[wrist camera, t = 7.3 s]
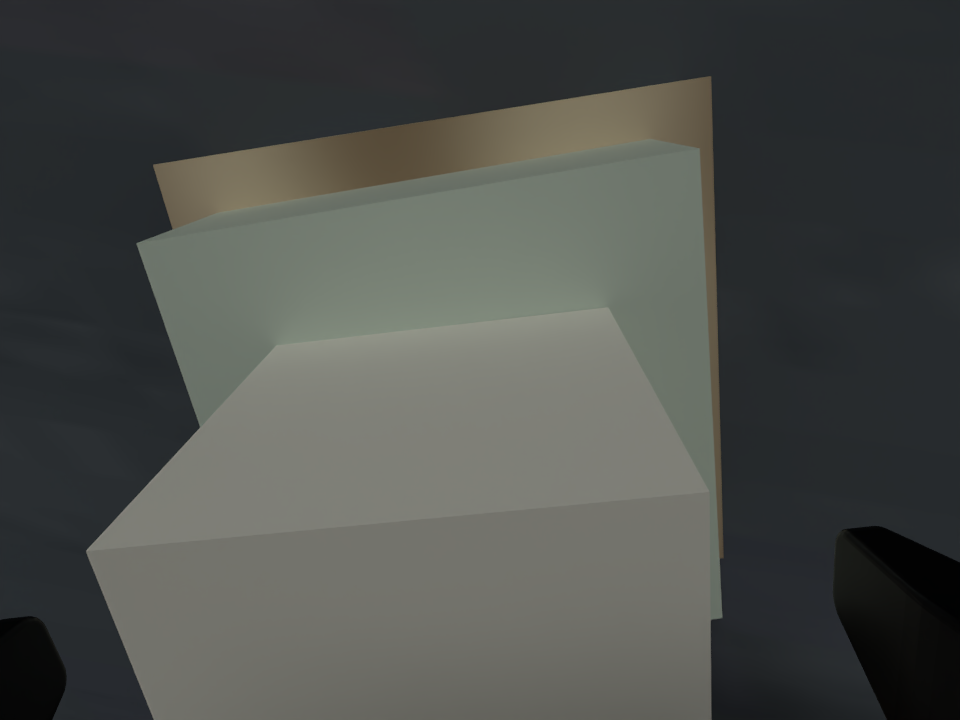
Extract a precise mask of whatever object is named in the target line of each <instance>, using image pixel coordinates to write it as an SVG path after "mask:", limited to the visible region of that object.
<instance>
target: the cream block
mask: <svg viewBox="0 0 960 720" xmlns="http://www.w3.org/2000/svg"><path fill="white" fill-rule="evenodd" d="M86 553H87V555H88V558H89V560H90V563H91V565H92V568H93V570H94V573H95V575H96V578H97V580H98V583H99V585H100V588H101V590H102V592H103V595H104V597H105V600H106V602H107V605H108V607H109V610H110V612H111V615H112V617H113V620H114V622H115V625H116V627H117V630H118V632H119V635H120V637H121V639H122V642H123V644H124V647H125V649H126V652H127V654H128V657H129V659H130V662H131V664H132V667H133V669H134V672H135V674H136V677H137V679H138V682H139V684H140V687H141V689H142V691H143V694H144V696H145V699H146V701H147V704H148V706H149V709H150V711H151V714H152V716H153V719H154V720H711V606H710V492H709V490H708V488H707V486H706V484H705V483H704V481H703V479H702V477H701V475H700V473H699V472H698V470H697V468H696V466H695V464H694V463H693V461H692V459H691V457H690V455H689V453H688V452H687V450H686V448H685V446H684V444H683V443H682V441H681V439H680V437H679V435H678V433H677V432H676V430H675V428H674V426H673V424H672V422H671V421H670V419H669V417H668V415H667V413H666V412H665V410H664V408H663V406H662V404H661V402H660V401H659V399H658V397H657V395H656V393H655V392H654V390H653V388H652V386H651V384H650V382H649V381H648V379H647V377H646V375H645V373H644V372H643V370H642V368H641V366H640V364H639V362H638V361H637V359H636V357H635V355H634V353H633V351H632V350H631V348H630V346H629V344H628V342H627V341H626V339H625V337H624V335H623V333H622V331H621V330H620V328H619V326H618V324H617V322H616V321H615V319H614V317H613V315H612V313H611V311H610V310H609V308H608V307H605V308H596V309H588V310H579V311H570V312H561V313H553V314H544V315H535V316H527V317H518V318H509V319H501V320H492V321H483V322H474V323H466V324H457V325H448V326H440V327H431V328H422V329H414V330H405V331H396V332H388V333H379V334H371V335H362V336H353V337H345V338H336V339H328V340H319V341H311V342H302V343H293V344H285V345H276V346H275V347H274V349H273V350H272V351H271V352H270V353H269V354H268V355H267V356H266V357H265V358H264V359H263V360H262V361H261V363H260V364H259V365H258V366H257V367H256V368H255V369H254V370H253V371H252V372H251V373H250V374H249V376H248V377H247V378H246V379H245V380H244V381H243V382H242V383H241V384H240V385H239V386H238V387H237V388H236V390H235V391H234V392H233V393H232V394H231V395H230V396H229V397H228V398H227V399H226V400H225V401H224V403H223V404H222V405H221V406H220V407H219V408H218V409H217V410H216V411H215V412H214V413H213V414H212V415H211V417H210V418H209V419H208V420H207V421H206V422H205V423H204V424H203V425H202V426H201V427H200V428H199V430H198V431H197V432H196V433H195V434H194V435H193V436H192V437H191V438H190V439H189V440H188V441H187V442H186V444H185V445H184V446H183V447H182V448H181V449H180V450H179V451H178V452H177V453H176V454H175V455H174V457H173V458H172V459H171V460H170V461H169V462H168V463H167V464H166V465H165V466H164V467H163V468H162V470H161V471H160V472H159V473H158V474H157V475H156V476H155V477H154V478H153V479H152V480H151V481H150V482H149V484H148V485H147V486H146V487H145V488H144V489H143V490H142V491H141V492H140V493H139V494H138V495H137V497H136V498H135V499H134V500H133V501H132V502H131V503H130V504H129V505H128V506H127V507H126V508H125V509H124V511H123V512H122V513H121V514H120V515H119V516H118V517H117V518H116V519H115V520H114V521H113V522H112V524H111V525H110V526H109V527H108V528H107V529H106V530H105V531H104V532H103V533H102V534H101V535H100V536H99V538H98V539H97V540H96V541H95V542H94V543H93V544H92V545H91V546H90V547H89V548H88V549H87V551H86Z"/></svg>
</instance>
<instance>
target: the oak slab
mask: <svg viewBox="0 0 960 720" xmlns="http://www.w3.org/2000/svg"><path fill="white" fill-rule="evenodd" d="M646 139H654V140H659V141H665V142H670V143H675V144H680V145H685V146H690V147H695V148H700V166H701V187H702V207H703V228H704V249H705V270H706V290H707V311H708V332H709V353H710V373H711V394H712V415H713V436H714V456H715V477H716V498H717V519H718V539H719V558H723V523H722V484H721V445H720V406H719V367H718V328H717V289H716V250H715V211H714V172H713V134H712V95H711V76H710V77H703V78H697V79H690V80H684V81H677V82H671V83H665V84H658V85H652V86H646V87H639V88H633V89H627V90H621V91H614V92H608V93H602V94H595V95H589V96H583V97H577V98H570V99H564V100H558V101H551V102H545V103H539V104H532V105H526V106H520V107H514V108H507V109H501V110H495V111H488V112H482V113H476V114H469V115H463V116H457V117H451V118H444V119H438V120H432V121H425V122H419V123H413V124H406V125H400V126H394V127H388V128H381V129H375V130H369V131H362V132H356V133H350V134H344V135H337V136H331V137H325V138H318V139H312V140H306V141H299V142H293V143H287V144H281V145H274V146H268V147H262V148H255V149H249V150H243V151H236V152H230V153H224V154H218V155H211V156H205V157H199V158H193V159H186V160H180V161H174V162H168V163H162V164H156V165H153V167H154V170H155V173H156V176H157V179H158V183H159V186H160V189H161V192H162V196H163V199H164V202H165V205H166V209H167V212H168V215H169V218H170V222H171V225H172V228H173V229H176V228H178V227H181V226H184V225H186V224H189V223H192V222H194V221H197V220H200V219H202V218H205V217H208V216H210V215H213V214H215V213H219V212H225V211H231V210H236V209H242V208H248V207H254V206H260V205H266V204H272V203H277V202H283V201H289V200H295V199H301V198H307V197H313V196H318V195H324V194H330V193H336V192H342V191H348V190H354V189H359V188H365V187H371V186H377V185H383V184H389V183H395V182H400V181H406V180H412V179H418V178H424V177H430V176H436V175H441V174H447V173H453V172H459V171H465V170H471V169H477V168H482V167H488V166H494V165H500V164H506V163H512V162H518V161H523V160H529V159H535V158H541V157H547V156H553V155H559V154H564V153H570V152H576V151H582V150H588V149H594V148H600V147H605V146H611V145H617V144H623V143H629V142H635V141H641V140H646Z"/></svg>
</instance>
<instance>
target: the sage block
mask: <svg viewBox="0 0 960 720" xmlns="http://www.w3.org/2000/svg"><path fill="white" fill-rule="evenodd" d="M136 244H137V246H138V249H139V252H140V255H141V258H142V261H143V264H144V267H145V269H146V272H147V275H148V278H149V281H150V284H151V287H152V290H153V292H154V295H155V298H156V301H157V304H158V307H159V310H160V313H161V315H162V318H163V321H164V324H165V327H166V330H167V333H168V336H169V338H170V341H171V344H172V347H173V350H174V353H175V356H176V359H177V361H178V364H179V367H180V370H181V373H182V376H183V379H184V382H185V384H186V387H187V390H188V393H189V396H190V399H191V402H192V405H193V407H194V410H195V413H196V416H197V419H198V422H199V425H200V427H201V426H202V425H203V424H204V423H205V422H206V421H207V420H208V419H209V418H210V417H211V415H212V414H213V413H214V412H215V411H216V410H217V409H218V408H219V407H220V406H221V405H222V404H223V403H224V401H225V400H226V399H227V398H228V397H229V396H230V395H231V394H232V393H233V392H234V391H235V390H236V388H237V387H238V386H239V385H240V384H241V383H242V382H243V381H244V380H245V379H246V378H247V377H248V376H249V374H250V373H251V372H252V371H253V370H254V369H255V368H256V367H257V366H258V365H259V364H260V363H261V361H262V360H263V359H264V358H265V357H266V356H267V355H268V354H269V353H270V352H271V351H272V350H273V349H274V347H275V346H276V345H285V344H293V343H302V342H311V341H319V340H328V339H336V338H345V337H353V336H362V335H371V334H379V333H388V332H396V331H405V330H414V329H422V328H431V327H440V326H448V325H457V324H466V323H474V322H483V321H492V320H501V319H509V318H518V317H527V316H535V315H544V314H553V313H561V312H570V311H579V310H588V309H596V308H605V307H608V308H609V310H610V311H611V313H612V315H613V317H614V319H615V321H616V322H617V324H618V326H619V328H620V330H621V331H622V333H623V335H624V337H625V339H626V341H627V342H628V344H629V346H630V348H631V350H632V351H633V353H634V355H635V357H636V359H637V361H638V362H639V364H640V366H641V368H642V370H643V372H644V373H645V375H646V377H647V379H648V381H649V382H650V384H651V386H652V388H653V390H654V392H655V393H656V395H657V397H658V399H659V401H660V402H661V404H662V406H663V408H664V410H665V412H666V413H667V415H668V417H669V419H670V421H671V422H672V424H673V426H674V428H675V430H676V432H677V433H678V435H679V437H680V439H681V441H682V443H683V444H684V446H685V448H686V450H687V452H688V453H689V455H690V457H691V459H692V461H693V463H694V464H695V466H696V468H697V470H698V472H699V473H700V475H701V477H702V479H703V481H704V483H705V484H706V486H707V488H708V490H709V492H710V606H711V619H719V618H722V602H721V581H720V560H719V539H718V519H717V498H716V477H715V456H714V436H713V415H712V394H711V373H710V353H709V332H708V311H707V290H706V270H705V249H704V228H703V207H702V187H701V166H700V148H695V147H690V146H685V145H680V144H675V143H670V142H665V141H659V140H654V139H646V140H641V141H635V142H629V143H623V144H617V145H611V146H605V147H600V148H594V149H588V150H582V151H576V152H570V153H564V154H559V155H553V156H547V157H541V158H535V159H529V160H523V161H518V162H512V163H506V164H500V165H494V166H488V167H482V168H477V169H471V170H465V171H459V172H453V173H447V174H441V175H436V176H430V177H424V178H418V179H412V180H406V181H400V182H395V183H389V184H383V185H377V186H371V187H365V188H359V189H354V190H348V191H342V192H336V193H330V194H324V195H318V196H313V197H307V198H301V199H295V200H289V201H283V202H277V203H272V204H266V205H260V206H254V207H248V208H242V209H236V210H231V211H225V212H219V213H215V214H213V215H210V216H208V217H205V218H202V219H200V220H197V221H194V222H192V223H189V224H186V225H184V226H181V227H178V228H176V229H173V230H171V231H168V232H165V233H163V234H160V235H157V236H155V237H152V238H149V239H147V240H144V241H142V242H139V243H136Z"/></svg>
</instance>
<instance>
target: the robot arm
mask: <svg viewBox="0 0 960 720" xmlns="http://www.w3.org/2000/svg"><path fill="white" fill-rule="evenodd" d="M833 598H834V603H835V607H836V611H837V614H838V616H839V618H840V620H841V623H842V625H843V627H844V629H845V631H846V633H847V635H848V638H849V640H850V642H851V644H852V646H853V648H854V650H855V652H856V655H857V657H858V659H859V661H860V663H861V665H862V667H863V670H864V672H865V674H866V676H867V678H868V680H869V682H870V685H871V687H872V689H873V691H874V693H875V695H876V697H877V700H878V702H879V704H880V706H881V708H882V710H883V712H884V714H885V717H886V719H887V720H960V562H958V561H956V560H953V559H951V558H949V557H947V556H945V555H943V554H940V553H938V552H936V551H934V550H932V549H930V548H927V547H925V546H923V545H921V544H919V543H917V542H914V541H912V540H910V539H908V538H906V537H904V536H901V535H899V534H897V533H895V532H893V531H891V530H888V529H886V528H883V527H880V526H870V527H860V528H851V529H844V530H842V531H841V532H840V533H839V534H838V535H837V538H836V542H835V559H834V580H833ZM65 686H66V669H65V667H64V664H63V662H62V660H61V658H60V656H59V654H58V651H57V649H56V647H55V645H54V643H53V641H52V639H51V637H50V634H49V632H48V630H47V628H46V626H45V624H44V623H43V622H42V621H41V620H39V619H38V618H36V617H32V616H27V617H18V618H8V619H2V620H0V720H52V719H53V717H54V714H55V712H56V710H57V707H58V705H59V703H60V701H61V698H62V696H63V693H64V691H65Z"/></svg>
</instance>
